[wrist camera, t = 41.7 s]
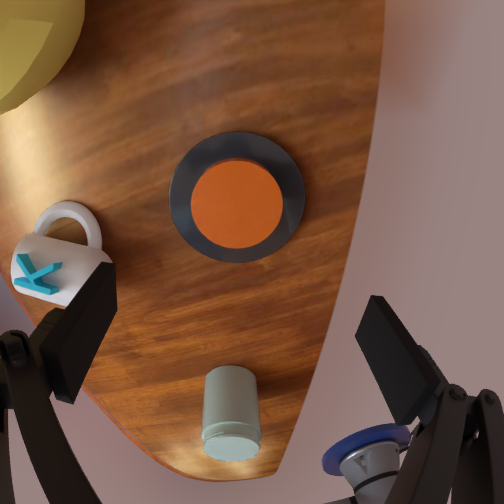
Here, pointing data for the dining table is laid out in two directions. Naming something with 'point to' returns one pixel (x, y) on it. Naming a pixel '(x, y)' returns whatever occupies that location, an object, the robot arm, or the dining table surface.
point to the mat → (237, 147)
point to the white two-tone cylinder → (57, 256)
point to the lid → (236, 203)
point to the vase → (35, 45)
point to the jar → (231, 414)
